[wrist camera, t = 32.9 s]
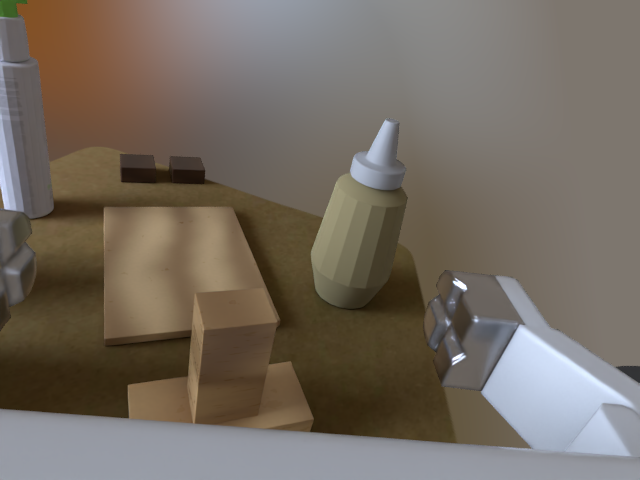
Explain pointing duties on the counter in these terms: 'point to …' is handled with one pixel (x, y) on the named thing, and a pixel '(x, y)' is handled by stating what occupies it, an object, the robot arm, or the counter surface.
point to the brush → (228, 371)
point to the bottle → (21, 121)
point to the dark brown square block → (187, 170)
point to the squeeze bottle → (361, 225)
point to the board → (169, 268)
